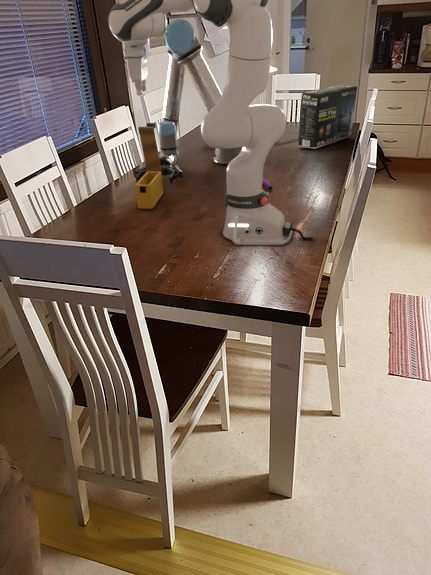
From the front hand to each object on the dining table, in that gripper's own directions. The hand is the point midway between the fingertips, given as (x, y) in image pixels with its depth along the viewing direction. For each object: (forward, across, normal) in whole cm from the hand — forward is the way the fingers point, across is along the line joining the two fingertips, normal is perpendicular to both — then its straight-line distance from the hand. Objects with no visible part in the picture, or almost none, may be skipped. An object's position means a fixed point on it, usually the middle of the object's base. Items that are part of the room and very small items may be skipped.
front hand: (141, 93), depth 162 cm
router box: (+39, -75, +84) cm, 119 cm away
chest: (+38, +3, 0) cm, 39 cm away
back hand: (+32, -3, 0) cm, 33 cm away
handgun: (+39, -13, +42) cm, 59 cm away
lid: (+20, -2, 0) cm, 21 cm away
